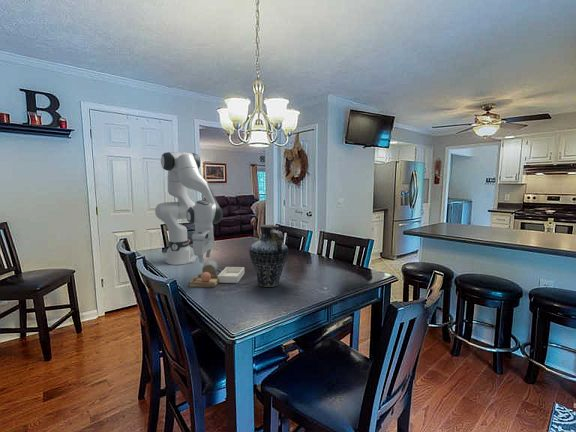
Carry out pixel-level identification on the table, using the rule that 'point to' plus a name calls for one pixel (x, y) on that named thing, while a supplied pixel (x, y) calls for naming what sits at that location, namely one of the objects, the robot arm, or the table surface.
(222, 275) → the white storage bin
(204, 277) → the ball
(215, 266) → the ceramic mug
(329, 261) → the table surface
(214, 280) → the tray
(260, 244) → the jug
